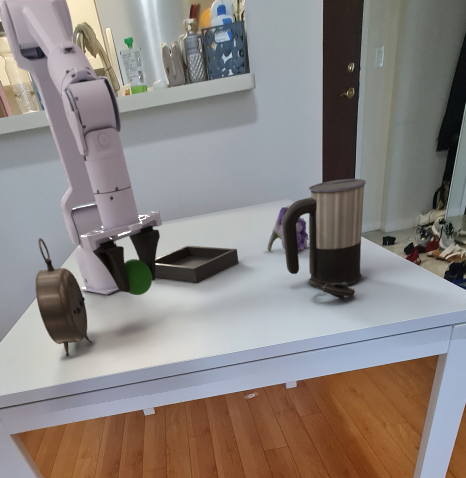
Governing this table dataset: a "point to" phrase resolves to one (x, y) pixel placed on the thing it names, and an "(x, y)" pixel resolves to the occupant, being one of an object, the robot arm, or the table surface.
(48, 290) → the alarm clock
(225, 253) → the tray
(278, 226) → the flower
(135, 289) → the green ball
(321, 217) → the milk frother
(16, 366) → the table surface
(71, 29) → the robot arm
